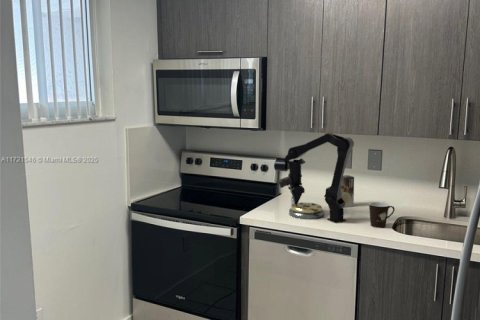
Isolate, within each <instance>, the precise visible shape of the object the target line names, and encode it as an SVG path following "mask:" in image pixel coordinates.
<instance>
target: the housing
mask: <svg viewBox="0 0 480 320" xmlns="http://www.w3.org/2000/svg"><path fill="white" fill-rule="evenodd" d="M324 212H325V210H323V209H322V212H320V213H316V214H300V213H296V212H293V211H292V210H291V208H289V209H288V215H289V216H290V217H291V216H292V217H291V218H294V217H295V218H294V219H299V218H300V220H317V219H321V217H322V218H323V217H324V215H325V214H324Z"/></svg>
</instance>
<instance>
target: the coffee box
mask: <svg viewBox="0 0 480 320" xmlns="http://www.w3.org/2000/svg"><path fill="white" fill-rule="evenodd" d="M354 195H355V176H352V175H347V174H345V175H344V174H343V179H342V183H341V198H342V199H343V200H344V201H345V202H346V203H345V206H344V207H343V208H347V207H348V208H349V207H351V208H352V207H354V206H355V205H354V204H355V203H354V202H355V201H354V199H355V196H354Z"/></svg>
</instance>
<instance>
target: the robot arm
mask: <svg viewBox="0 0 480 320" xmlns="http://www.w3.org/2000/svg"><path fill="white" fill-rule="evenodd" d="M328 143H329V144H331V146H332V145H333V146H335V147H337V149H336V151H337V152H336V153H337V159H336V164H335V167H334V172H333V177H332V181H331V185H330V186H328V187H326V188H325V193H324V196H323V197H324V201H325V203H326V204H327V205H328V206H327V207H328V208H329V209H328V210H329V217H327V218H326V220H327V221H330V222H333V223H337V224H338V223H344V222H347V220H346V219H345V218H344V214H345V213H344V211H345V209H344V208H345V207H344V206H345V203H346V202H345V201H344V200H343V199H342V198H341V183H342V179H343V175H344V174H345V169H346V166H347V163H348V162H347V161H348V158H349V156H350V154H351V153H352V150H353V148H354V146H355V142H354V140H353V139H352V138H351V137H344V136H340V135H337V134H335V133H332V132H328V133H325V134H324V135H321V136H319V137H317V138H314V139H313V140H311V141H309V142H306V143H304V144H299V145H296V146H292V147H290V148H288V150H287V154H286V156H285V157H280V156H277V157H275V160H274V164H273V168H274V170H275V171H278V172H288V171H289V172H288V176H285V177H283V178H281V179H278V180H277V183H278V185H279V187H280V189H281V188H285V187H287V188H288V190H290V191H289V192H290V193H291V197H294V202H295V205H297V204H298V203H300V202H299V201H300V199H301V198H302V195H303V194H304V193H306V192H305V187H303V182H302V177H303V174H302V165H303V164H306V161H305V160H304V159H303V158H302V157H303V156H305V155H306V154H307V153H308V152H310V151H312V150H313V149H316V148H318V147H320V146H322V145H325V144H328Z"/></svg>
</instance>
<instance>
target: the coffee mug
mask: <svg viewBox="0 0 480 320" xmlns="http://www.w3.org/2000/svg"><path fill="white" fill-rule="evenodd" d="M368 207H369V219H370V226H371V227H373V228H376V229H383V228H386V225H387V220H388V219H389V218H390V217H391V216H393V214H394V213H395V207H394V206H392V205H390V204H389V203H386V202H381V201H380V202H379V201H373V202H369V203H368ZM390 208H392V211H391V213H389V209H390ZM388 214H389V215H388Z"/></svg>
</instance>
